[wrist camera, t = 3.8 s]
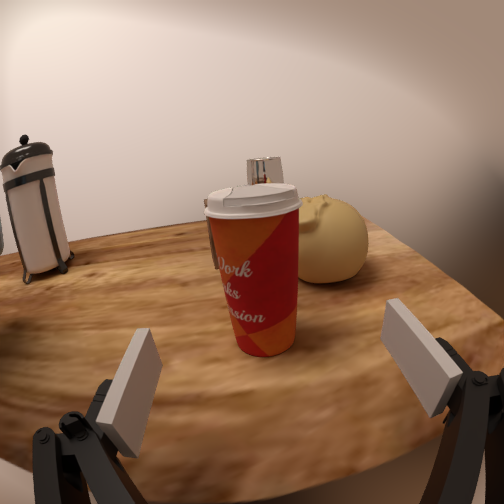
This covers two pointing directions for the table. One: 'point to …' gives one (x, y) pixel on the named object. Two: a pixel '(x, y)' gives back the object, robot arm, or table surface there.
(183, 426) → the table surface
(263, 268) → the paper cup
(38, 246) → the coffee press
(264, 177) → the beer glass
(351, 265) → the sculpture
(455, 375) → the robot arm
